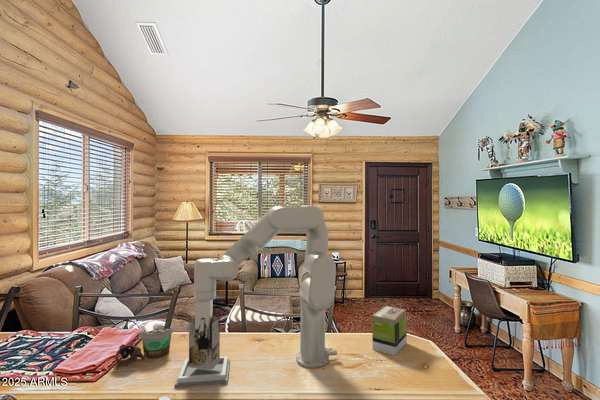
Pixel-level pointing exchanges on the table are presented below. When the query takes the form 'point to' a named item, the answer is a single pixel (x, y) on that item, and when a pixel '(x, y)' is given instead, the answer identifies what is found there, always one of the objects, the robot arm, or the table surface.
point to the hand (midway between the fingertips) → (204, 343)
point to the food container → (156, 342)
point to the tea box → (389, 330)
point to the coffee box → (205, 356)
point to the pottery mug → (125, 352)
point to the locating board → (203, 374)
